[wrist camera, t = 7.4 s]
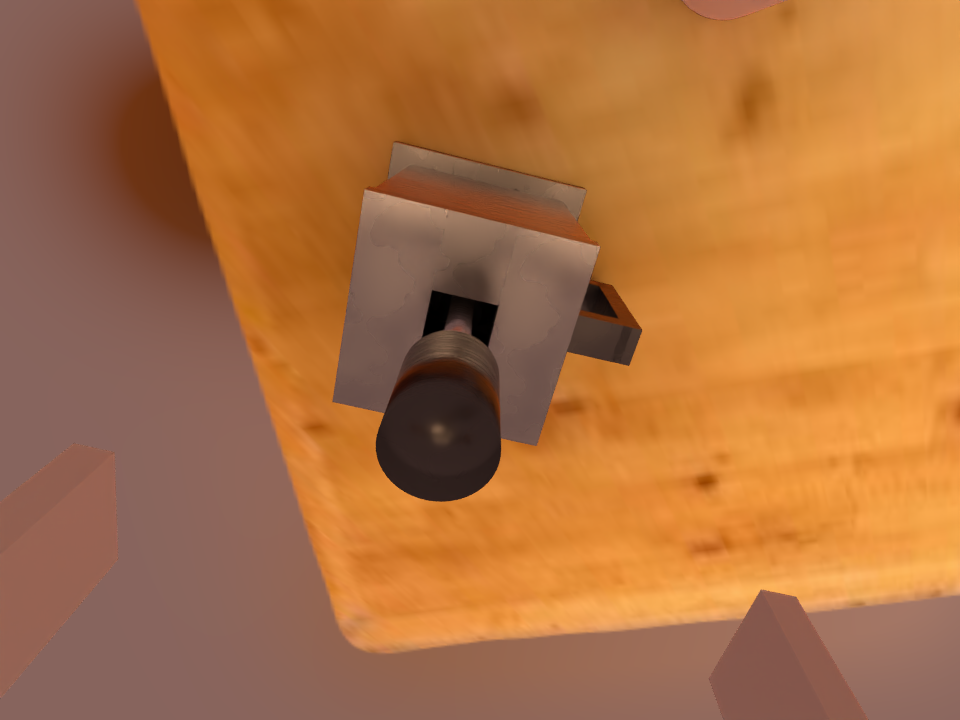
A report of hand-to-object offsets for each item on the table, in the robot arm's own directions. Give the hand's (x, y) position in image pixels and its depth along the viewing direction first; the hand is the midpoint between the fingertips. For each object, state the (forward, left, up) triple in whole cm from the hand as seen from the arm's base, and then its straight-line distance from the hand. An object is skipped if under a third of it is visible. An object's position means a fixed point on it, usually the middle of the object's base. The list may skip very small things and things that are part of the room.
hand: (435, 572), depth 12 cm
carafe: (-1, 0, -29) cm, 29 cm away
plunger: (0, 0, -27) cm, 27 cm away
